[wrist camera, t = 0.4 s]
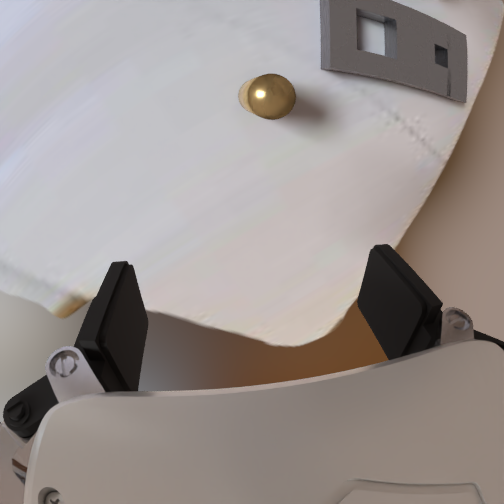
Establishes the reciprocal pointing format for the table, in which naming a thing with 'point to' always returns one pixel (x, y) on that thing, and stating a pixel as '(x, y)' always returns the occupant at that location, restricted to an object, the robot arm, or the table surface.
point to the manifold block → (396, 46)
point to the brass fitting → (268, 96)
